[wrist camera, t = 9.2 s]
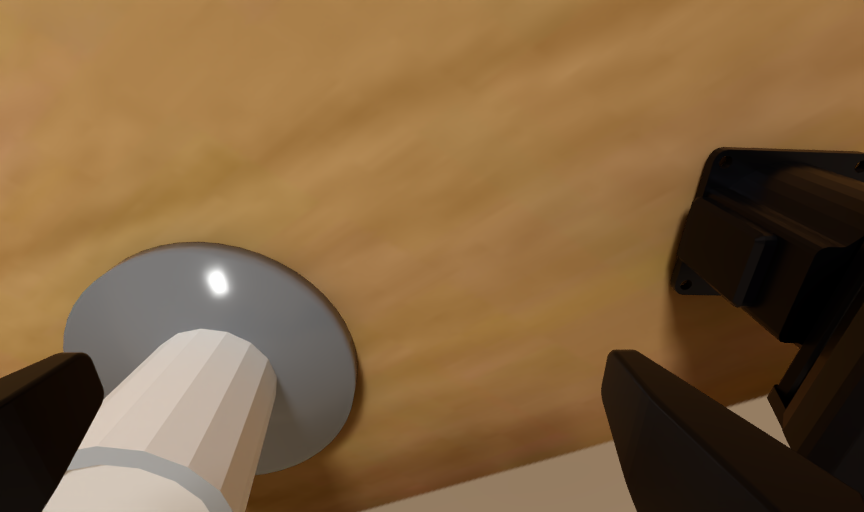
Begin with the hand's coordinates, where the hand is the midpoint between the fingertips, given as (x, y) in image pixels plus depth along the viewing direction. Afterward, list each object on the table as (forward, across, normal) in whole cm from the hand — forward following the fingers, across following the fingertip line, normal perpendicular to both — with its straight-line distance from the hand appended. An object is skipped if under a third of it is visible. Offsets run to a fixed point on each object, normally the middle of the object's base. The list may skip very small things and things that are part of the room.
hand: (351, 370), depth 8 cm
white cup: (+10, +9, +9) cm, 16 cm away
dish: (+12, +9, +9) cm, 17 cm away
